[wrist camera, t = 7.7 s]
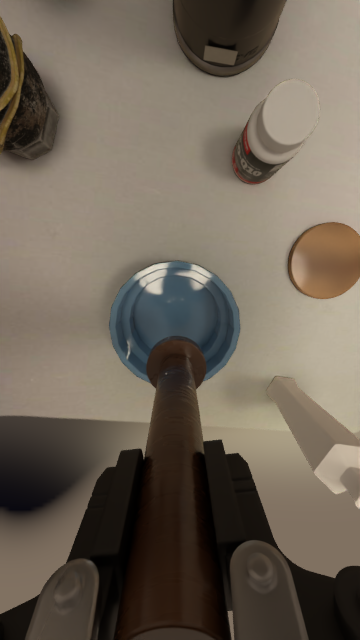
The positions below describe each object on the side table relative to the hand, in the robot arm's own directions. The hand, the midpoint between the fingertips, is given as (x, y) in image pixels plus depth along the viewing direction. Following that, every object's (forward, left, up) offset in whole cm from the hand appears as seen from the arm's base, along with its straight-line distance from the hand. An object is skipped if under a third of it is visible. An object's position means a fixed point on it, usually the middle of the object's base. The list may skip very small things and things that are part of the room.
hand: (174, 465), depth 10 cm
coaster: (-6, +17, -20) cm, 27 cm away
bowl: (-1, 0, -20) cm, 20 cm away
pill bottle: (-17, +10, -21) cm, 28 cm away
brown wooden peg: (0, 0, -10) cm, 10 cm away
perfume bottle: (+10, +12, -21) cm, 26 cm away
